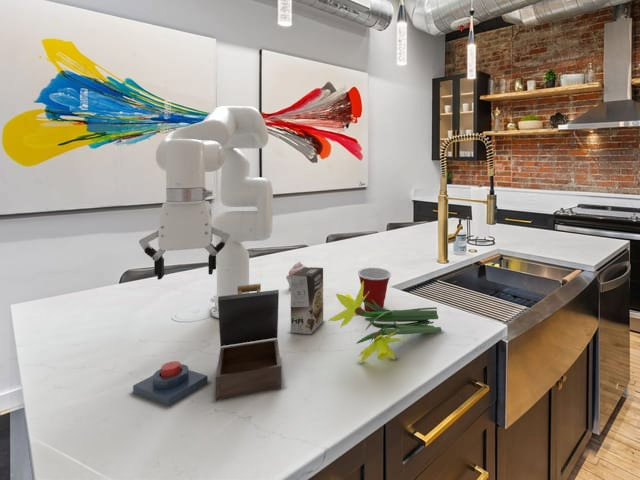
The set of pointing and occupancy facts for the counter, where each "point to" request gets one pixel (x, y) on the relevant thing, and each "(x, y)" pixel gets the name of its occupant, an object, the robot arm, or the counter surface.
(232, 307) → the dark slab with handle
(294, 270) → the cupcake
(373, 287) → the plastic cup
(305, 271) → the coffee box
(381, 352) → the daffodil flowers
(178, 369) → the red push button
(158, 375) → the blue button base
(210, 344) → the counter surface
